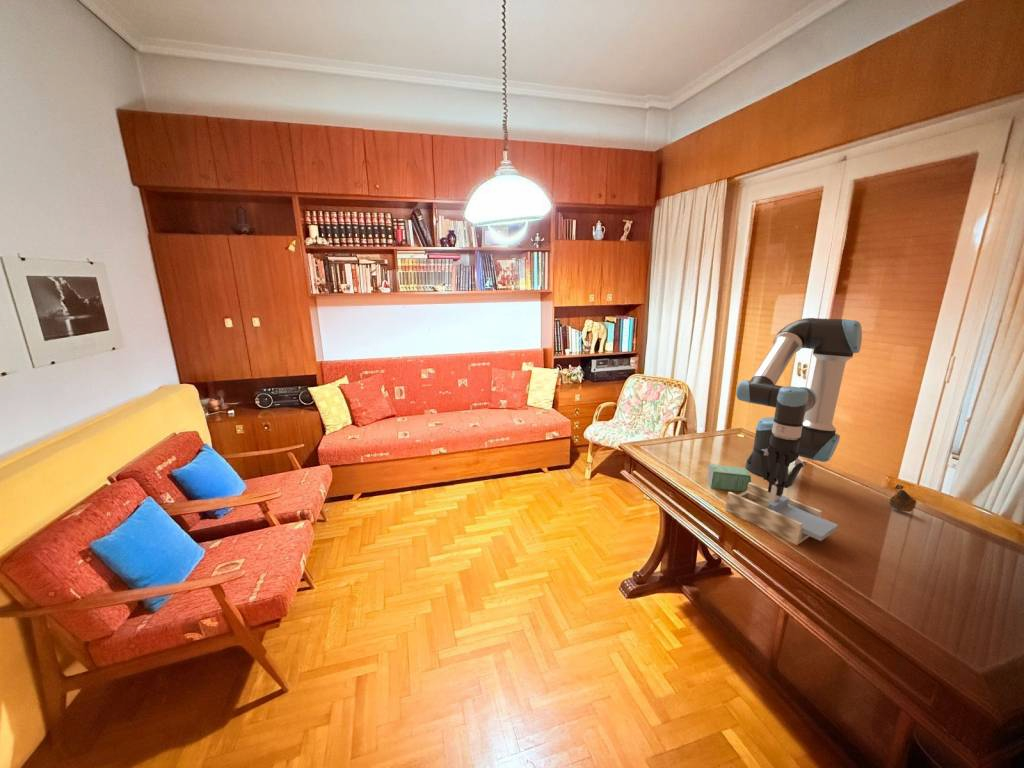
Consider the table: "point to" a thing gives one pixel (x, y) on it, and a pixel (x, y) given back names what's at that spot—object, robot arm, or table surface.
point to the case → (767, 513)
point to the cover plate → (804, 519)
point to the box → (728, 478)
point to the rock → (902, 500)
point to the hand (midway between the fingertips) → (773, 502)
